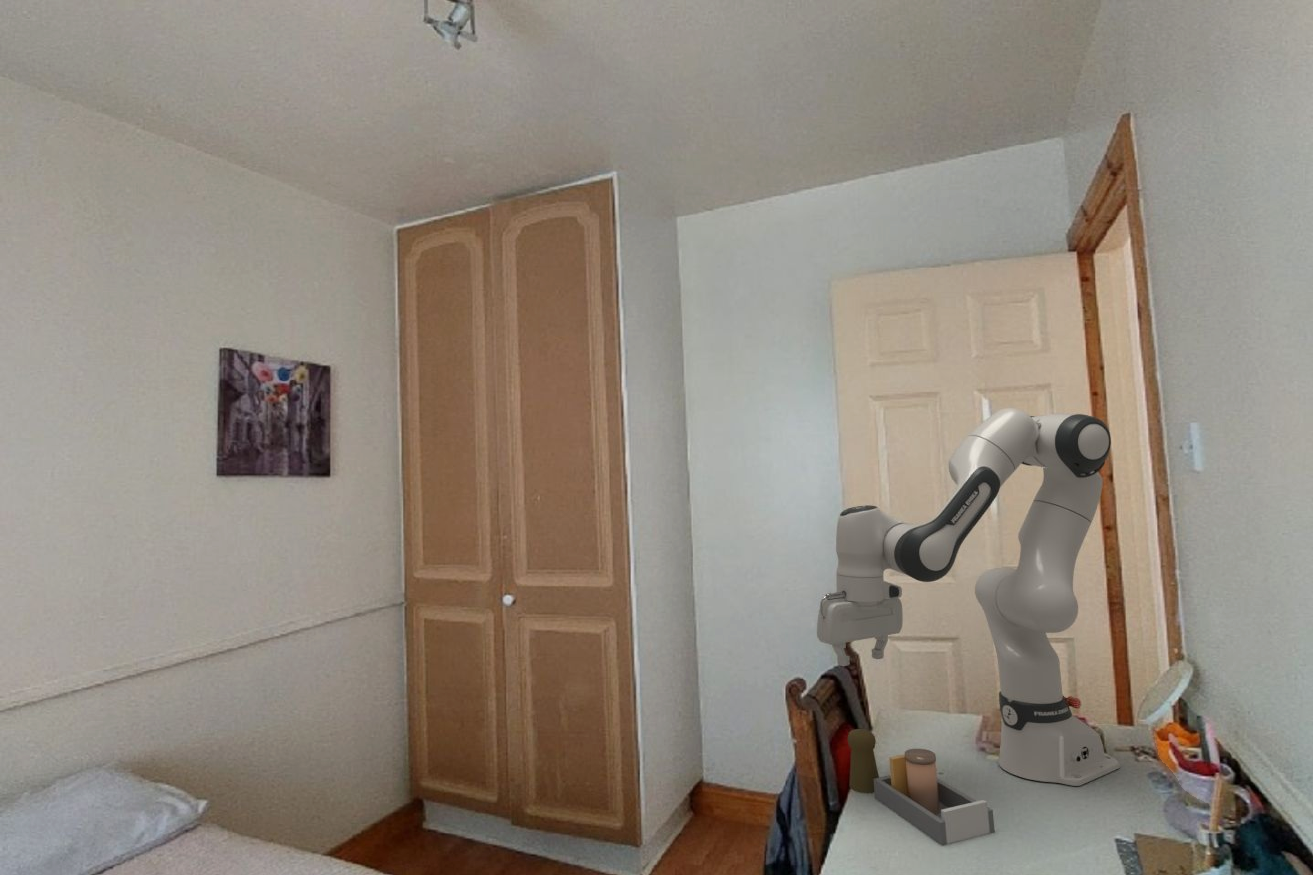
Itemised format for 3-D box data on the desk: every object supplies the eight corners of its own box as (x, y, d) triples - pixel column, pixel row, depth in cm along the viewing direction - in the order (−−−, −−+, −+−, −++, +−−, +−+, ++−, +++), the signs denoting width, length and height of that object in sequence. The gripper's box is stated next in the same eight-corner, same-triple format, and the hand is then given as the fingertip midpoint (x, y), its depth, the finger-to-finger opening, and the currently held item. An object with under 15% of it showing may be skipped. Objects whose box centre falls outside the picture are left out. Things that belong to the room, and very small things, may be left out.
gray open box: (922, 790, 131) (920, 760, 131) (994, 835, 114) (991, 800, 114) (875, 801, 128) (872, 770, 128) (942, 849, 110) (939, 813, 111)
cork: (883, 797, 129) (878, 737, 130) (850, 796, 130) (845, 736, 131) (879, 782, 135) (875, 725, 136) (848, 782, 136) (843, 725, 137)
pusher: (927, 794, 127) (923, 750, 128) (930, 796, 126) (927, 752, 127) (892, 802, 125) (889, 757, 125) (896, 804, 124) (892, 759, 125)
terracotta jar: (926, 800, 126) (922, 746, 126) (946, 812, 121) (942, 756, 121) (902, 806, 124) (898, 751, 125) (921, 818, 119) (917, 762, 120)
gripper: (833, 596, 126) (834, 673, 125) (907, 587, 136) (909, 658, 136) (808, 591, 131) (809, 665, 130) (882, 583, 142) (883, 651, 141)
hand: (860, 661), depth 133 cm, fingers open, 8 cm apart
